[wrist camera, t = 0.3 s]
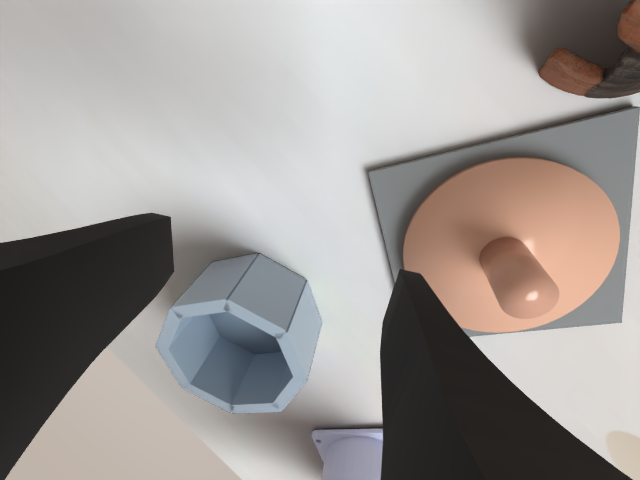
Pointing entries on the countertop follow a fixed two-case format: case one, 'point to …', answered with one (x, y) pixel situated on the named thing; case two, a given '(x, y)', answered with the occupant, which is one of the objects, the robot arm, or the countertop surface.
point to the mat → (549, 143)
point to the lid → (513, 242)
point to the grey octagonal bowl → (243, 335)
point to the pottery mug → (593, 80)
